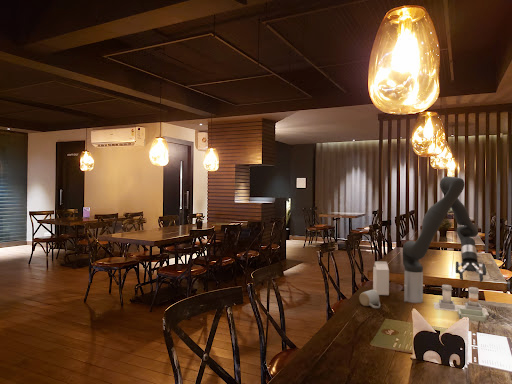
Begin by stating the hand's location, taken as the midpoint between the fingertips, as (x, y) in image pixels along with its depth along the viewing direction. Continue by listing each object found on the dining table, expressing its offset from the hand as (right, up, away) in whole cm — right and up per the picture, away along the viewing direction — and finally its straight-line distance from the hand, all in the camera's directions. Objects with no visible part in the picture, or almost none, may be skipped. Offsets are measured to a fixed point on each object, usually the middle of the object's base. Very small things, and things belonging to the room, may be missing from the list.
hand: (471, 280), depth 197 cm
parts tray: (-10, -14, -18) cm, 25 cm away
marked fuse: (-3, -13, -8) cm, 16 cm away
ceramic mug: (-52, -14, +3) cm, 54 cm away
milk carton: (-39, -14, +25) cm, 49 cm away
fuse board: (-9, -14, -5) cm, 17 cm away
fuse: (-14, -13, -3) cm, 20 cm away
